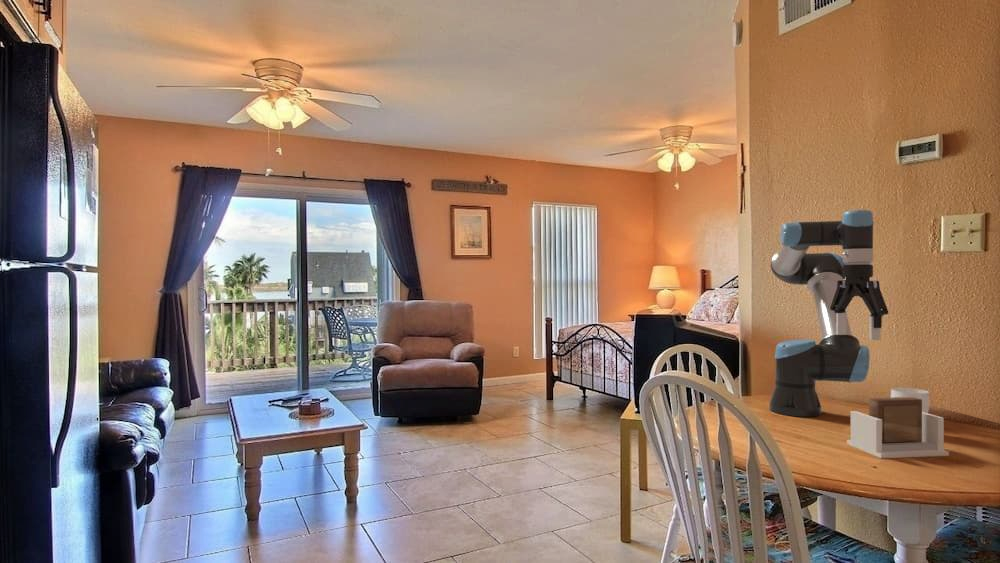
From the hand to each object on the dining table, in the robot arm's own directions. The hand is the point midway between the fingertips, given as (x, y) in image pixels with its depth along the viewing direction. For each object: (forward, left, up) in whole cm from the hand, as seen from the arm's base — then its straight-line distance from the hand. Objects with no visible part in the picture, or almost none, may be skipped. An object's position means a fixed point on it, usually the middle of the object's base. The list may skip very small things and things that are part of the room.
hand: (857, 337), depth 164 cm
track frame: (+19, -4, -27) cm, 33 cm away
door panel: (+19, -4, -26) cm, 32 cm away
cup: (+5, +12, -27) cm, 30 cm away
